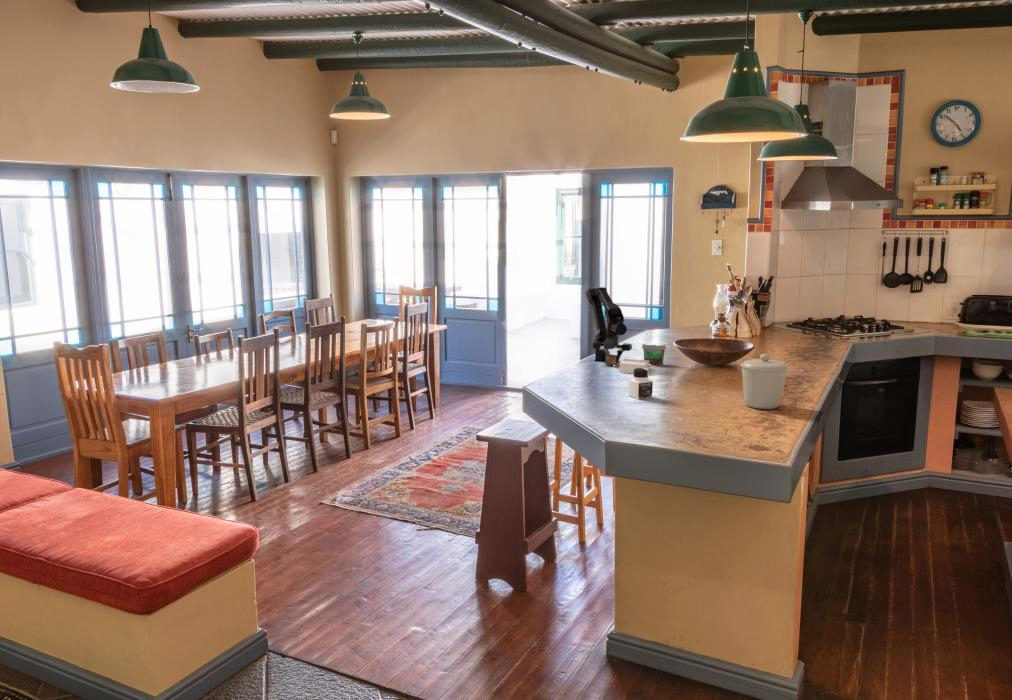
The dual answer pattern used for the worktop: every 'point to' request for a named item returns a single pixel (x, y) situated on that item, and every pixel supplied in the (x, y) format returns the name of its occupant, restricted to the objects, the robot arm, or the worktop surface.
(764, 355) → the canister
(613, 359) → the walnut cube
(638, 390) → the medicine bottle
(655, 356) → the food container
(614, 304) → the robot arm
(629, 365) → the plastic box
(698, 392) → the worktop surface
